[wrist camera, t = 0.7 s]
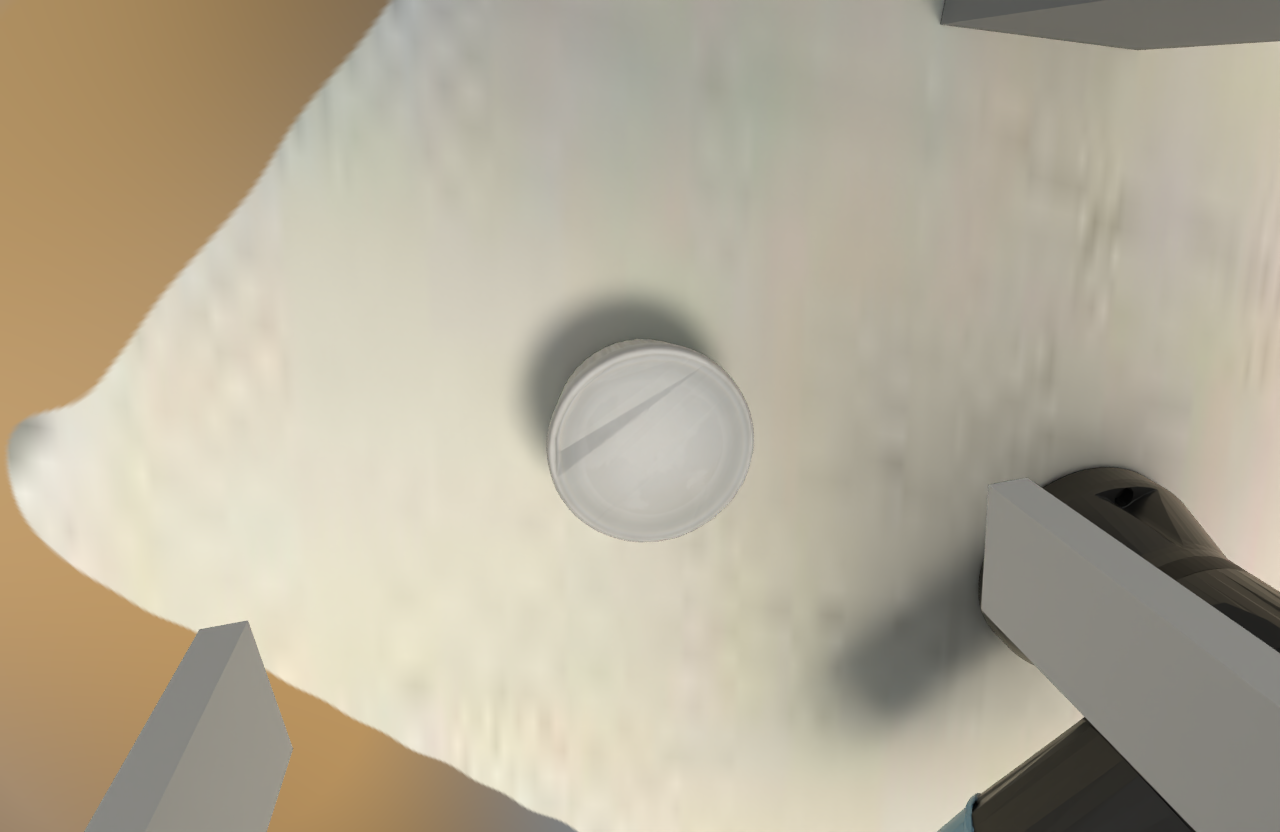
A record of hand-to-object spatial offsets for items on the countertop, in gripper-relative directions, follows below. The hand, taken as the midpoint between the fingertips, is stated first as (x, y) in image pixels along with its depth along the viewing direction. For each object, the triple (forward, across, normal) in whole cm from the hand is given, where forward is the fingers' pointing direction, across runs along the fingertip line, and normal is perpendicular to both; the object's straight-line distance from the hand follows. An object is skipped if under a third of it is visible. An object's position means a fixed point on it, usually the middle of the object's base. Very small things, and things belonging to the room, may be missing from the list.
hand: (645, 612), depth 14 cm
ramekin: (+32, -4, +9) cm, 33 cm away
